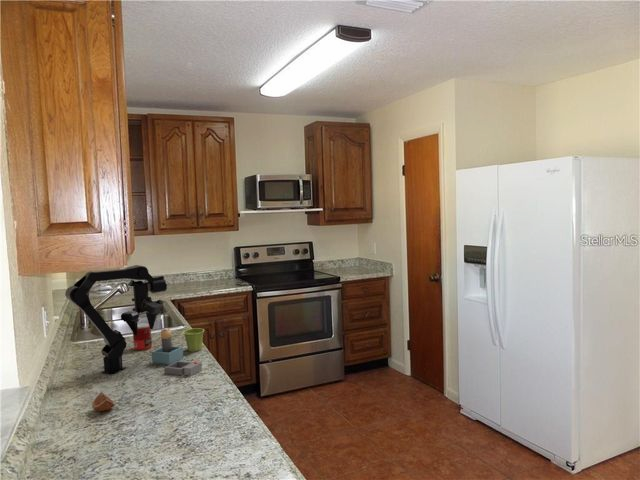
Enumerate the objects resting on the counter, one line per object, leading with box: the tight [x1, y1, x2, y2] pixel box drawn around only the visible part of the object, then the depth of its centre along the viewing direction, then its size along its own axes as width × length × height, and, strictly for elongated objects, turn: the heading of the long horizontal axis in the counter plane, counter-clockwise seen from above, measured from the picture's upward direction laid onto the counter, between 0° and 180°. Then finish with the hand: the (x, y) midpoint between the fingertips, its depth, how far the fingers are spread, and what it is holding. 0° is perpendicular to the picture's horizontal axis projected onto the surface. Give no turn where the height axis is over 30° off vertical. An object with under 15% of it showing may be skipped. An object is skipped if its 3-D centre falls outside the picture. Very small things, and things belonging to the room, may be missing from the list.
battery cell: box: [160, 327, 173, 353], centre depth 201 cm, size 4×4×13 cm
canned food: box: [132, 322, 153, 352], centre depth 221 cm, size 8×8×11 cm
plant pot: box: [182, 327, 205, 353], centre depth 215 cm, size 9×9×9 cm
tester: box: [163, 360, 203, 377], centre depth 187 cm, size 8×12×4 cm, turn 68°
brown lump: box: [91, 391, 116, 412], centre depth 154 cm, size 8×7×5 cm
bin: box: [151, 345, 184, 366], centre depth 201 cm, size 9×9×5 cm
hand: (144, 332), depth 200 cm, fingers open, 9 cm apart
